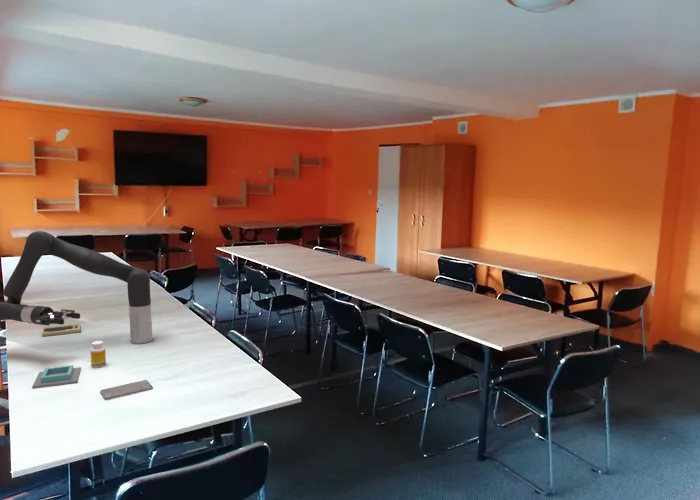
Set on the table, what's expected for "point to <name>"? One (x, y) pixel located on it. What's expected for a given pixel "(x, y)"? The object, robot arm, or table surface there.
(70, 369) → the bottle dock
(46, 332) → the computer
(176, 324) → the table surface
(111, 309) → the table surface
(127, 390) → the phone
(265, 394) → the table surface
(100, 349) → the supplement bottle
